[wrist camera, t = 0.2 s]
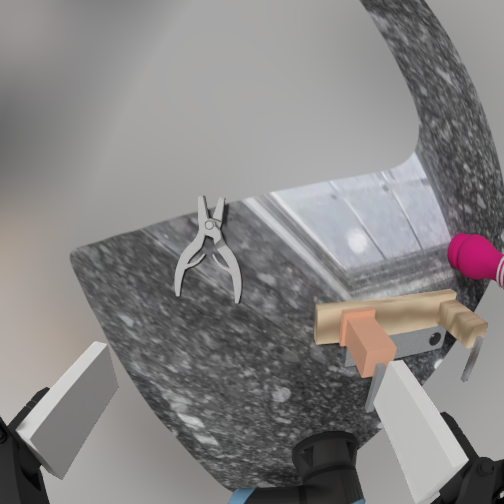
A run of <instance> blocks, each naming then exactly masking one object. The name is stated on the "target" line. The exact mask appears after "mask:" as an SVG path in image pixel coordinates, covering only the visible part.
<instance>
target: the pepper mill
mask: <svg viewBox="0 0 504 504" xmlns="http://www.w3.org/2000/svg"><path fill="white" fill-rule="evenodd" d="M448 259H449V262H450V264H451V265H452V266H453V267H455V268H457V269H459V270H460V271H461V273H462V274H463V275H464V276H466V277H468V278H470V279H483V278H488V279H492V280H495V281H496V282H497V284H498V286H499V287H501V288H503V289H504V254H502V253H500V252H498V251H497V250H496V249H495V248H494V247H493V246H492V244H491V243H490V242H489V241H488V240H487V239H486V238H484V237H483V236H480V235H477V234H473V235H468V234H465V233H459V234H457V235H456V236H455V237H454V238H453V239H452V240H451V242H450V245H449V249H448Z"/></svg>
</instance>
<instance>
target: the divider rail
mask: <svg viewBox="0 0 504 504" xmlns="http://www.w3.org/2000/svg"><path fill="white" fill-rule="evenodd" d="M455 298H456V292H455V291H453V290H452V289H446V290H439V291H432V292H425V293H418V294H411V295H403V296H395V297H386V298H378V299H368V300H358V301H348V302H336V303H324V304H316V309H315V331H314V339H315V342H316V345H318V344H328V343H338V342H339V336H340V326H341V315H342V310H347V309H357V308H366V307H374V308H375V310H376V313H375V319H376V321H377V322H378V323H379V325H380V326H381V327H382V328H383V330H384V331H385V332H386V334H387V335H388V336H389V335H394V334H400V333H406V332H411V331H416V330H421V329H426V328H431V327H435V326H440V325H442V326H443V327H444V328H445V329H446V330H447V331H448V332H449V333H451V334H452V335H453V336H454V337H455V338H456V339H457V340H458V341H459V342H461V344H462V345H464V346H465V347H466V348H467V349H469V348H472V347H473V348H472V351H471V353H470V356H469V359H468V362H467V364H466V367H465V369H464V372H463V374H462V377H461V380H462V381H463V382H465V381H467V380H468V378H469V376H470V374H471V371H472V369H473V366H474V364H475V361H476V358H477V356H478V353H479V351H480V347H481V345H482V342H483V338H484V335H485V332H486V329H487V326H488V323H487V322H486V321H484V320H483V319H482V318H480V317H479V316H478V315H476V314H475V313H473V312H472V311H471V310H469V309H468V308H466V307H465V306H464V305H462V304H461V303H459V302H458V301H456V300H455Z"/></svg>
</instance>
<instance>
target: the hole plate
mask: <svg viewBox="0 0 504 504" xmlns="http://www.w3.org/2000/svg"><path fill="white" fill-rule="evenodd" d="M445 333H446V329H445V328H444V327H443V326H442V325H440V326H435V327H431V328H426V329H421V330H416V331H411V332H406V333H400V334H394V335H389V337H390V339H391V340H392V341H393V343H394V344H395V345H396V347H397V349H396V353H395V357H394V359H395V358H400V357H404V356H409V355H413V354H418V353H422V352H426V351H430V350H434V349H438V348H441V347H442V344H443V341H444V337H445ZM343 365H344V367H348V366H355V365H356V364H355V362H354V360H353V358H352V356H351V354H350V352H349V350H348V348H347V346H345V354H344V361H343Z"/></svg>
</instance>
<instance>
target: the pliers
mask: <svg viewBox="0 0 504 504" xmlns="http://www.w3.org/2000/svg"><path fill="white" fill-rule="evenodd" d="M225 199H226V198H223V197H220V198H219V201H218V204H217V207H216V210H215V213H214V216H213V218H209V216H208V210H207V209H208V208H207V202H206V197H205V196H200V197H198V201H199V202H198V203H199V204H198V223H199V228H200V229H199V232H198V235H197V237H196V238H195V239H194V241H193V242H192V243H191V244H190V245H189V246H188V247H187V248H186V249H185V250H184V252H183V253H182V255H181V257H180V259H179V262H178V265H177V268H176V273H175V291H176V296H180V289H181V283H182V278H183V274H184V271H185V269H186V268H188V267H191V266H194V265H195V264H197V263H198V262H199V261H200V260H201V259H202V258H203V257H204V255H205V253H204V254H203V255H202V256H201V257H200V258H199V259H198V260H197V261H196V262H194V263H188V262H189V260H190V258H191V257H192V256H193V255H194V254H195V253H196V252H197V251H198V250H199V249H200V248H201V247H202V244H203V241H204V238H205V236H206V235H208V236H210V237H213V238H214V243H215V246H216V248H217V250H218V251H219V252H220V254H221V255H222V256H223V258H224V259H225V260H226V262H227V263H228V266H229V267H226V266H224V265H222V264H221V263H220V262H219V261H218V259H217V258H216V256H215V254H213V255H212V256H213V258H214V259H215V261H216V262H217V264H218V265H219V266H220V267H221V268H222V269H224V270H226V271H228V272H229V273H230V274H231V275H232V278H233V283H234V292H235V303H238V302H239V299H240V294H241V274H240V269H239V265H238V262H237V259H236V257H235V255H234V253H233V252H232V251H231V249H230V248H229V247H228V246H227V245H226V243H225V241H224V239H223V237H222V233H221V230H220V227H221V224H222V219H223V212H224V204H225ZM187 263H188V264H187Z"/></svg>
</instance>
